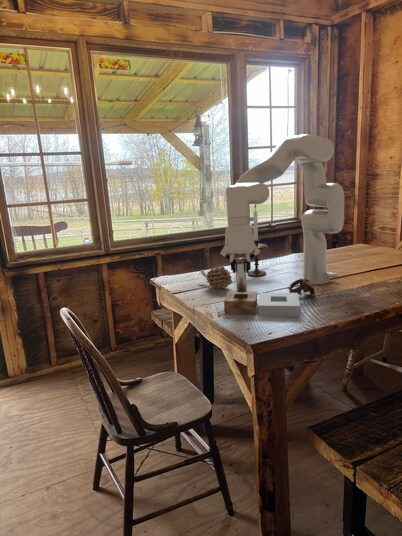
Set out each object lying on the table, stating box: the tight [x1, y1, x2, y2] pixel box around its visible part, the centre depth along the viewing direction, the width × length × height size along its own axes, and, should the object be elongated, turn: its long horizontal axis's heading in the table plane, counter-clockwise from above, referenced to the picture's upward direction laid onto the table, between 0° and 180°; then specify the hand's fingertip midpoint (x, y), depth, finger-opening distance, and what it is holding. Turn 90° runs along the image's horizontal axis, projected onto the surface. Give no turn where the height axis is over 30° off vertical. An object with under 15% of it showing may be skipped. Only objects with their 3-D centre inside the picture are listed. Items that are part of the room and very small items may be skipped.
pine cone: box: [200, 266, 233, 289], centre depth 164 cm, size 22×10×10 cm, turn 38°
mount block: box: [223, 290, 258, 316], centre depth 135 cm, size 11×11×5 cm
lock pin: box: [234, 257, 248, 292], centre depth 132 cm, size 4×4×12 cm
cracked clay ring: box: [288, 278, 317, 300], centre depth 145 cm, size 12×10×8 cm
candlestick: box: [247, 204, 268, 278], centre depth 176 cm, size 11×11×35 cm
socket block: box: [257, 292, 301, 318], centre depth 132 cm, size 14×14×4 cm
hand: (240, 271), depth 132 cm, fingers closed on lock pin, 4 cm apart
